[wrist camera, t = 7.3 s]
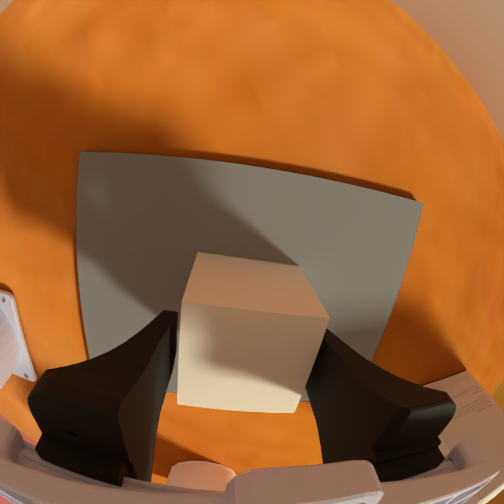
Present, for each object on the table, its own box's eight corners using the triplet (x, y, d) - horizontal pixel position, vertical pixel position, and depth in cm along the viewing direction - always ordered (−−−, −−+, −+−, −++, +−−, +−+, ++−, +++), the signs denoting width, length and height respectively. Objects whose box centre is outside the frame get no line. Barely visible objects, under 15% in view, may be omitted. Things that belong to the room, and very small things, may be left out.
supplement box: (385, 437, 22) (430, 537, 10) (410, 386, 19) (482, 501, 7) (441, 419, 22) (491, 500, 10) (469, 367, 20) (540, 453, 8)
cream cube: (189, 337, 15) (177, 403, 11) (197, 252, 14) (181, 301, 9) (278, 347, 16) (294, 412, 11) (299, 265, 14) (329, 317, 10)
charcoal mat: (96, 370, 17) (93, 376, 16) (84, 151, 12) (79, 151, 12) (350, 393, 19) (352, 399, 18) (417, 201, 14) (423, 203, 14)
